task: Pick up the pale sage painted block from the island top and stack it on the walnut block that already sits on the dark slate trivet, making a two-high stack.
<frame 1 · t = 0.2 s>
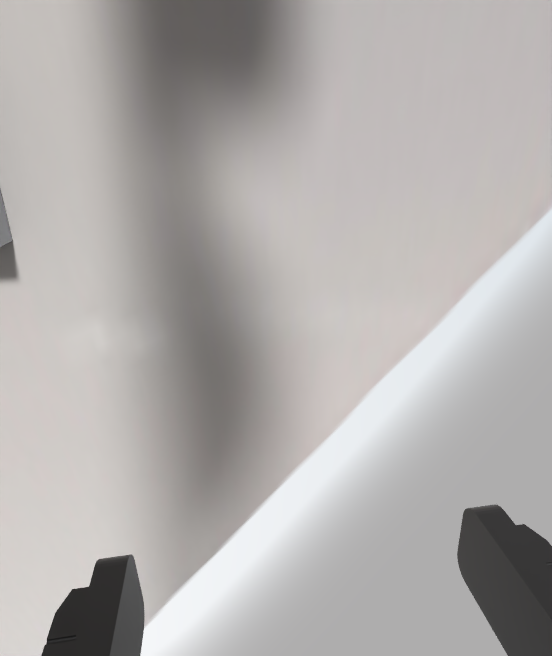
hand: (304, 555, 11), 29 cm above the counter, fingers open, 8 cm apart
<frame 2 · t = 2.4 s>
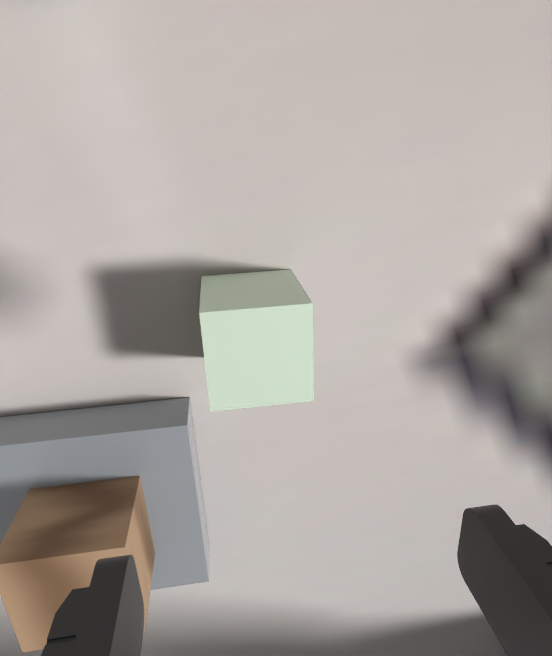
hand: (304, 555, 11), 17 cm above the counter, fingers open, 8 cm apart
sage block: (249, 314, 27), on the counter
slate trivet: (106, 487, 30), on the counter
walnut block: (95, 523, 27), point 3 cm above the counter, touching slate trivet
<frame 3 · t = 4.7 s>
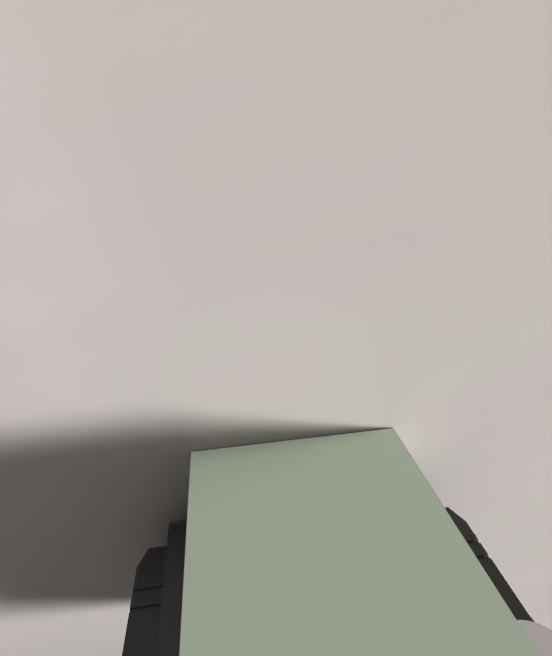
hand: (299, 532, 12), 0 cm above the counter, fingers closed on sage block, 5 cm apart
sage block: (296, 518, 12), on the counter, touching gripper
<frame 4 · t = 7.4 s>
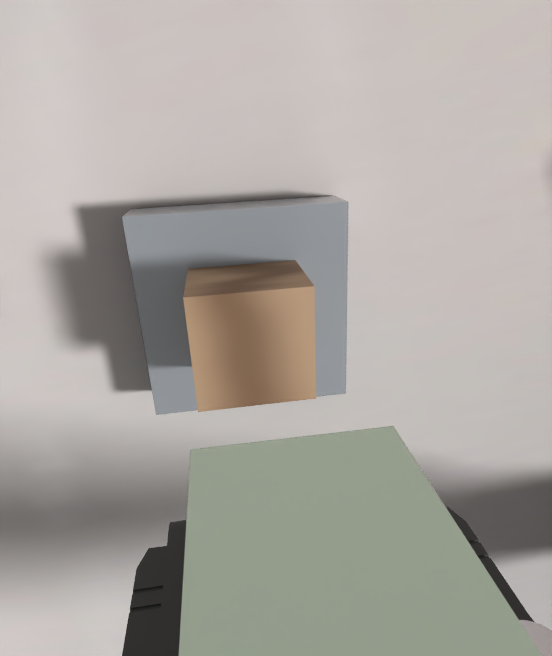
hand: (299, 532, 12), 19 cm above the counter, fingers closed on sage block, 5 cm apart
sage block: (296, 516, 12), point 19 cm above the counter, touching gripper
slate trivet: (242, 298, 29), on the counter
walnut block: (246, 314, 27), point 3 cm above the counter, touching slate trivet
when the fingers open (10 cm above the counter, at t = 9.9 s): sage block drops 1 cm, resting on walnut block.
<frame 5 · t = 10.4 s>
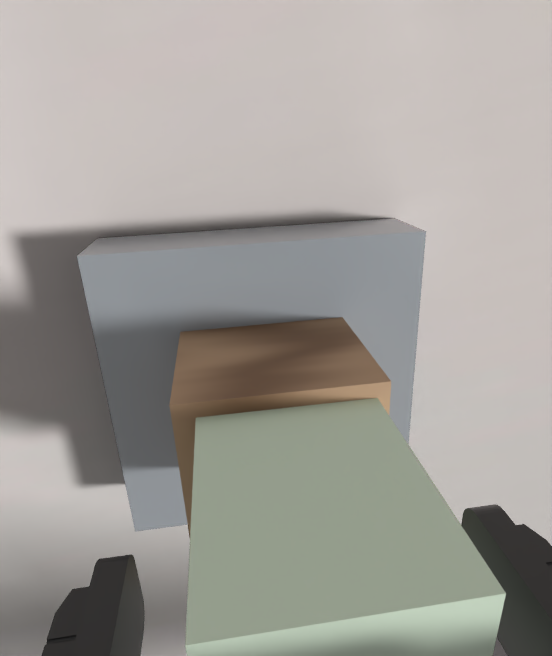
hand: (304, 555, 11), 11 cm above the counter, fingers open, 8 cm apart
sage block: (291, 480, 13), point 8 cm above the counter, touching walnut block
slate trivet: (259, 361, 21), on the counter
walnut block: (267, 395, 18), point 3 cm above the counter, touching sage block, slate trivet
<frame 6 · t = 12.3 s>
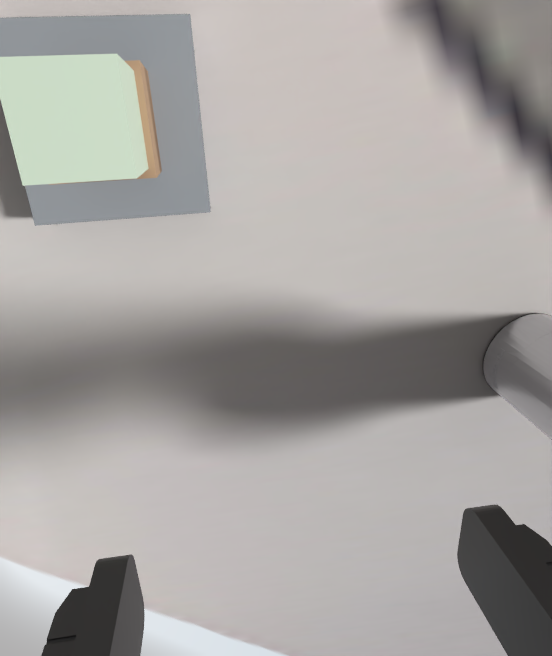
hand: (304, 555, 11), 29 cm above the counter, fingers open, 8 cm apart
sage block: (95, 123, 25), point 8 cm above the counter, touching walnut block
slate trivet: (115, 125, 33), on the counter
walnut block: (108, 125, 30), point 3 cm above the counter, touching sage block, slate trivet
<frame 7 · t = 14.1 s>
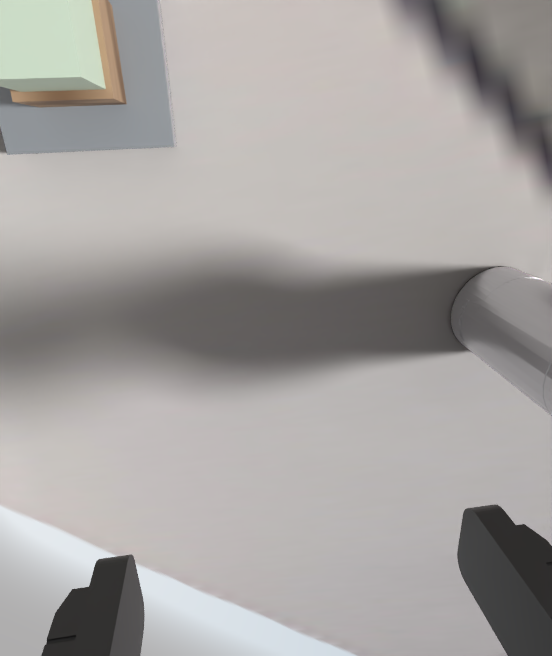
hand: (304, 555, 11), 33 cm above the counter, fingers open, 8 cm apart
sage block: (54, 43, 27), point 8 cm above the counter, touching walnut block
slate trivet: (85, 64, 35), on the counter
walnut block: (75, 57, 32), point 3 cm above the counter, touching sage block, slate trivet
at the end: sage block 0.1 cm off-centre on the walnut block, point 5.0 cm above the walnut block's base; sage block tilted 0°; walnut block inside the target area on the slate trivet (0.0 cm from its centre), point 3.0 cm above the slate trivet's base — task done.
